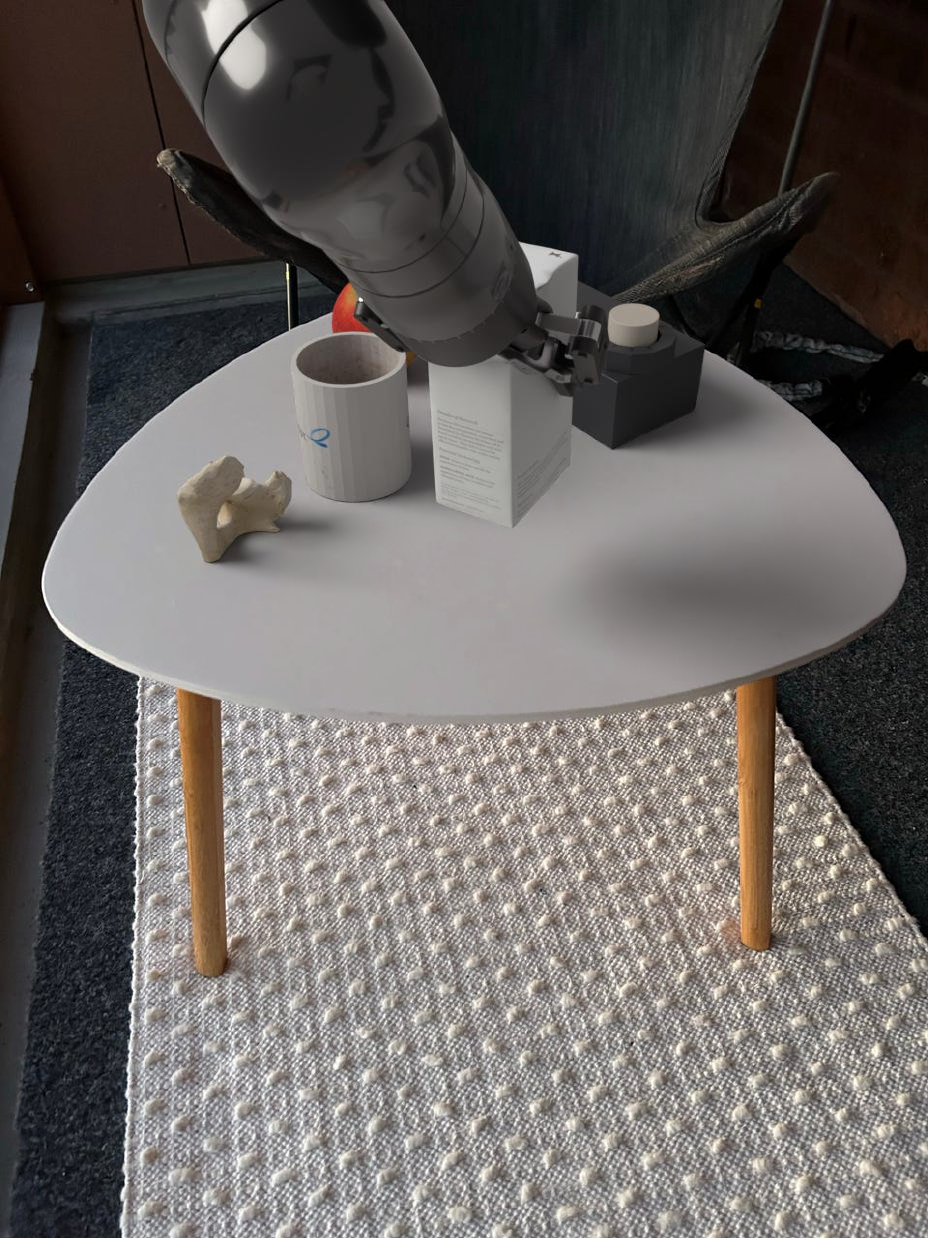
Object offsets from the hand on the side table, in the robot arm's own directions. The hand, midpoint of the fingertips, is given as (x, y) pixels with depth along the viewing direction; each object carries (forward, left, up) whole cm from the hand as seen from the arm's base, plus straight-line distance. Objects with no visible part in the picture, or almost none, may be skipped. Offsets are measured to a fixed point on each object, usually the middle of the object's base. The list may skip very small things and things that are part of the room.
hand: (516, 371), depth 67 cm
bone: (+21, +2, -16) cm, 27 cm away
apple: (+21, -24, -16) cm, 36 cm away
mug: (+17, -10, -16) cm, 26 cm away
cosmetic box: (0, +2, -8) cm, 8 cm away
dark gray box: (+2, -27, -16) cm, 31 cm away
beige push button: (-2, -23, -9) cm, 25 cm away
